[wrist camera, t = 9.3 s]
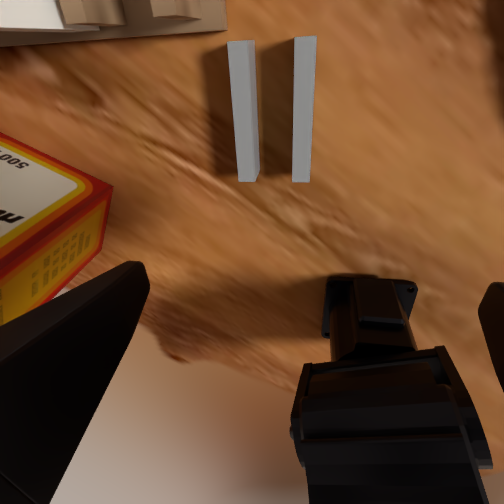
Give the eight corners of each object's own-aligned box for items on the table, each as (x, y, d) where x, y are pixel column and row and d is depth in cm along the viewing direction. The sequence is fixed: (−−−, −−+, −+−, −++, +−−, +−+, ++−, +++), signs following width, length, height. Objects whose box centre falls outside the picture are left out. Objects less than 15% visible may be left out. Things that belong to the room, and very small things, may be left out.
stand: (310, 170, 20) (309, 182, 18) (244, 170, 20) (238, 181, 19) (316, 35, 16) (316, 35, 14) (235, 41, 17) (227, 41, 15)
